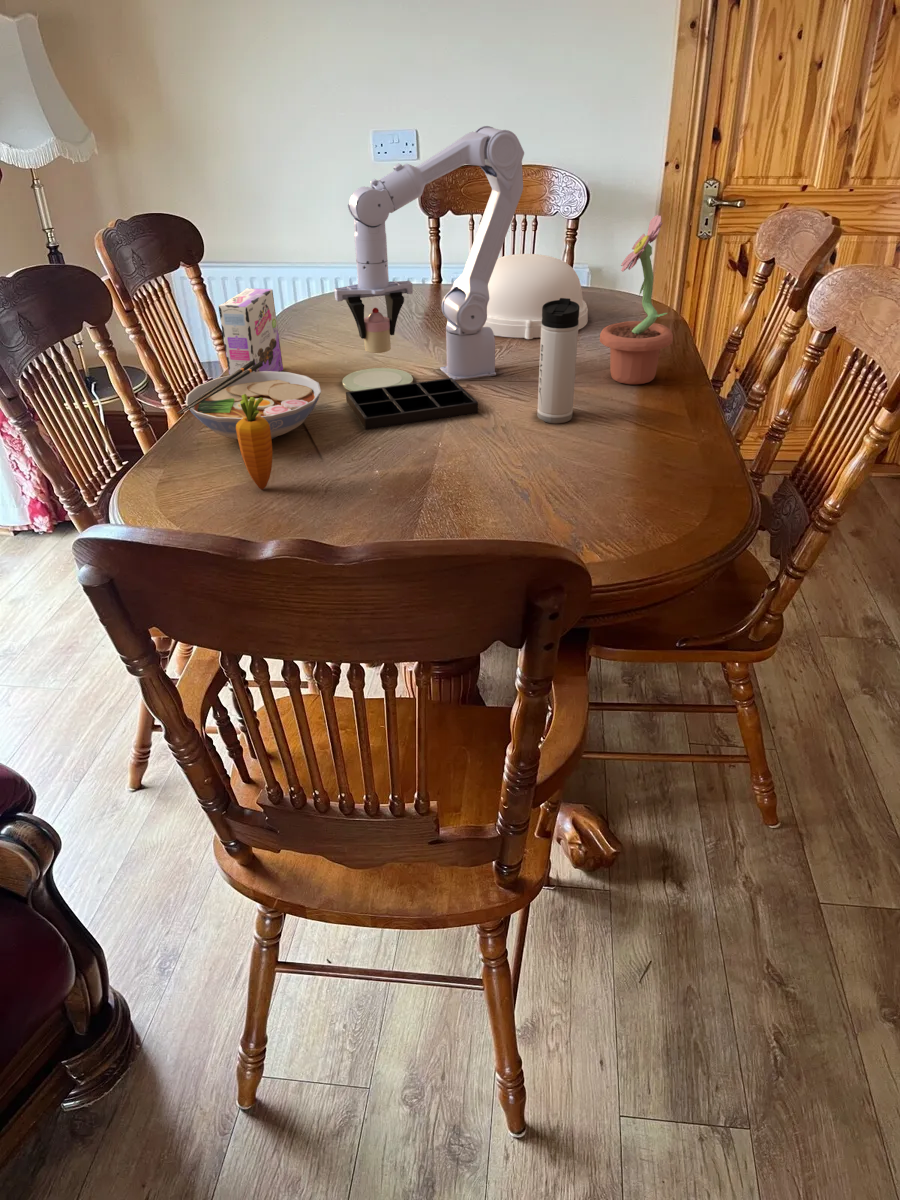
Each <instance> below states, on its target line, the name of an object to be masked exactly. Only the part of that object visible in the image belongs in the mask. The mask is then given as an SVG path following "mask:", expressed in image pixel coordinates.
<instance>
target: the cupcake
mask: <svg viewBox="0 0 900 1200" xmlns="http://www.w3.org/2000/svg"><path fill="white" fill-rule="evenodd" d="M371 310H372V311H371V312H370V313H369V315H368V316H366V317H364V324H365V332H366V338H365V339H363V343H364V351H365V352H366V353H371V354H382V353H387V352H389V351H391V349H392V346H391V344H392V343H391V335H390V319H389V318H388V317H387V316H384V315H383V313H382V312H380V311H379V308H378V307H373V308H372V309H371Z"/></svg>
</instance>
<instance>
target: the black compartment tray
mask: <svg viewBox="0 0 900 1200" xmlns="http://www.w3.org/2000/svg"><path fill="white" fill-rule="evenodd" d="M345 398H346V404H347V406H348V407H349V408H350V410H351V411H352V412H353V414H354V415H355V417H356V418H357V420H358V422H359V423H360V424H361V426H362V427H363V429H364V430H365V431H369V430H370V431H371V430H377V429H382V428H383V429H384V428H390V427H397V426H403V425H409V424H416V423H417V424H418V423H423V422H429V421H437V420H443V419H450V418H457V417H464V416H471V415H477V414H479V402H478V401H477V400H476V399H475V398H474V397H473V396H472V395H471V394H469V393H468V392H467V390H466V389H464V388H463V387H462V386H461V385H460V384H459V383H458V382H457V380H454V379H452V378H449V377H448V378H441V379H433V380H426V381H417V382H413V383H410V384H403V385H395V386H388V387H380V388H373V389H366V390H358V391H346V392H345Z"/></svg>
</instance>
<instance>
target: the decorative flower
mask: <svg viewBox="0 0 900 1200" xmlns="http://www.w3.org/2000/svg"><path fill="white" fill-rule="evenodd" d="M662 226H663V221H662V215H659V214H656V215H654V216H653V217H652V218H651V219H650V220H649V225H648V230H647V233H646V234H645V233H642V234H641V236H640V237H639V238H638V239H637V240H636V241H635V243H634V244H633V246H632V247H631V250H633V251H632V252H630V253H629V254H627V256H626V257H625V259H624V260H623V261H622V263H621V264H620V266H621V269H620V271H621V272H625V271H626V270H627V269H628V270H629V271H630V270H631V269H632V268H634V267H635V265H637V263H638V260H640V263H641V267H642V268H641V269H642V274H643V281H642V284H641V286H640V290H639V294H638V295H639V296H640V295H641V294H642V297H641V298H642V299H641V305H642V308H643V310H644V312H645V314H646V315H647V316H646V317H645V318H644V319H643V320H629V321H622V322H616V323H612V324H609V325H606V326H604V327H603V328H602V330H601V332H600V334H599V342H600V344H602V345H603V346H604V347H607V348H609V349H610V350H609V352H610V353H609V354H610V355H609V356H610V357H609V358H610V359H609V360H610V361H609V363H610V364H609V365H610V368H609V369H610V371H609V372H610V376H611V378H612V379H613V380H614V381H615V382H617V383H620V384H624V385H644V384H647V383H650V382H652V381H653V380H654V379H655V378H656V374H657V369H658V364H659V357H660V353H661V349H665V348H668V347H669V346H670V345H671V344H673V343H674V342H673V341H674V334H673V332H672V329H670V328H669V327H668V326H666V325H663V324H661V323H658V322H657V323H656V321H657V319H658V318H659V317H663V316H665V315H668V314H669V313H668V312H663V313H658V311H657V309H656V308H655V307H654V305H653V303H652V297H653V289H654V288H653V287H654V270H653V265H652V260H651V256H652V255H653V247H652V245H650V244H651V243H653V242H654V241H655V240H657V238H658V236H659V233H660V232H661V227H662Z"/></svg>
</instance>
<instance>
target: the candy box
mask: <svg viewBox="0 0 900 1200" xmlns="http://www.w3.org/2000/svg"><path fill="white" fill-rule="evenodd" d="M274 297H275V296H274V290H273V289H272V288H245V289H244V290H243V291H241V292H239V293H238V294H236V295H235V296H233V297H231V298H230V299H228V300H226V301H224V302H222V303H221V304H218V305H217V307H218V313H219V320H220V326H221V332H222V338H223V344H224V351H225V356H226V357H225V358H226V363H227V369H228V376H229V375H232V374H233V373H235V372H236V371H238V370H239V369H241V368H242V367H243V366H245V365H246V364H248V363H249V362H250V361H254V365H256V364H257V363H259V362H262V363H263V366H261V367H260V368H258V369H256V370H255V371H253V372H260V371H274V372H283V370H284V365H283V357H282V350H281V343H280V334H279V326H278V320H277V313H276V305H275V304H276V303H275V298H274ZM254 365H253V366H254ZM253 366H252V367H253ZM250 368H251V367H250ZM247 370H248V369H247ZM245 371H246V370H245ZM245 371H243V372H245ZM243 372H242V373H243Z"/></svg>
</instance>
